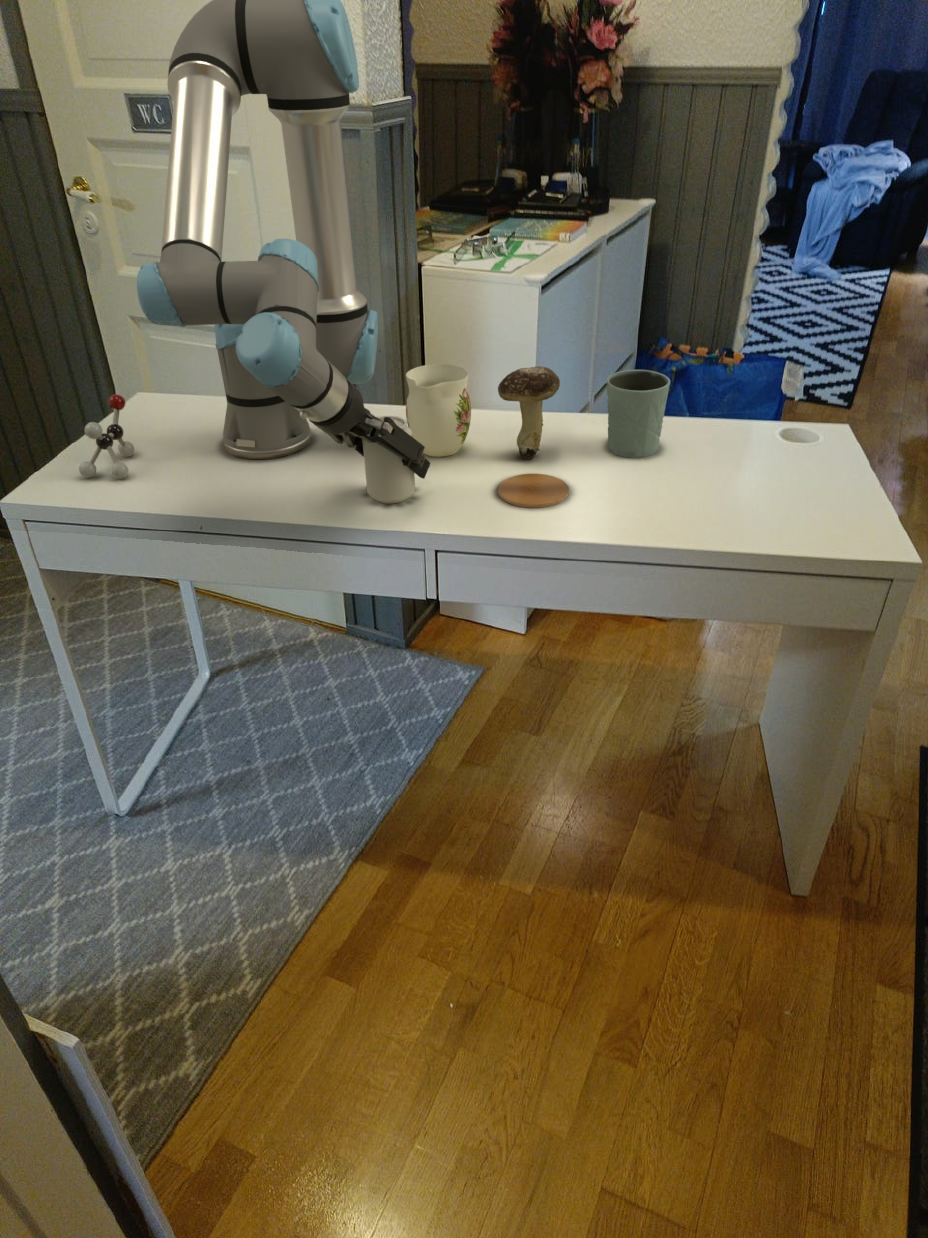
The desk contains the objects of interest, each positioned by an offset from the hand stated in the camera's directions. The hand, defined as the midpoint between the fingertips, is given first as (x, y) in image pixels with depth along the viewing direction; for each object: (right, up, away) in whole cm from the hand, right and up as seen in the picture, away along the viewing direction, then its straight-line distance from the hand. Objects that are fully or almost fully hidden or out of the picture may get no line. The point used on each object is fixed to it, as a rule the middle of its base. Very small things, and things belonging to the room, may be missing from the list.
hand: (402, 464), depth 138 cm
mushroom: (+21, +3, +11) cm, 23 cm away
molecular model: (-49, +2, +11) cm, 50 cm away
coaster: (+21, -4, 0) cm, 21 cm away
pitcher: (+6, +6, +15) cm, 17 cm away
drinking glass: (+38, +5, +13) cm, 41 cm away
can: (-2, -5, 0) cm, 5 cm away
